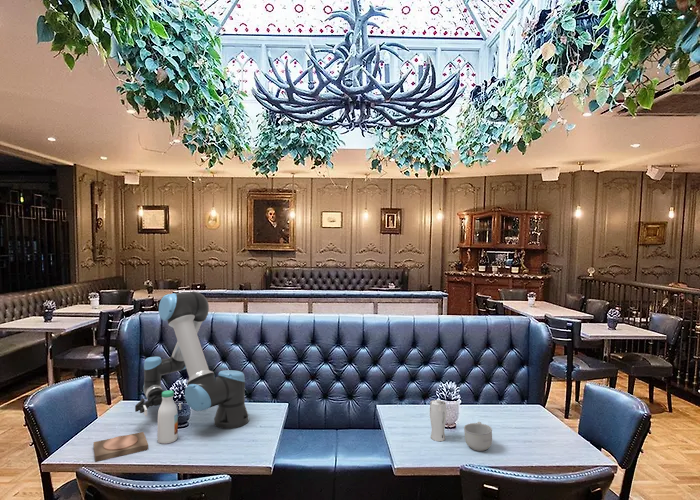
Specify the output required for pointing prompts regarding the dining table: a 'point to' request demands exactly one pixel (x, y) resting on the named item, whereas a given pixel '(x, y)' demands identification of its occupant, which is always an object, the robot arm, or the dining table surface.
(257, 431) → the dining table surface
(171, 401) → the milk bottle
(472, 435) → the teacup
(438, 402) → the beer glass
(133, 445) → the serving board
